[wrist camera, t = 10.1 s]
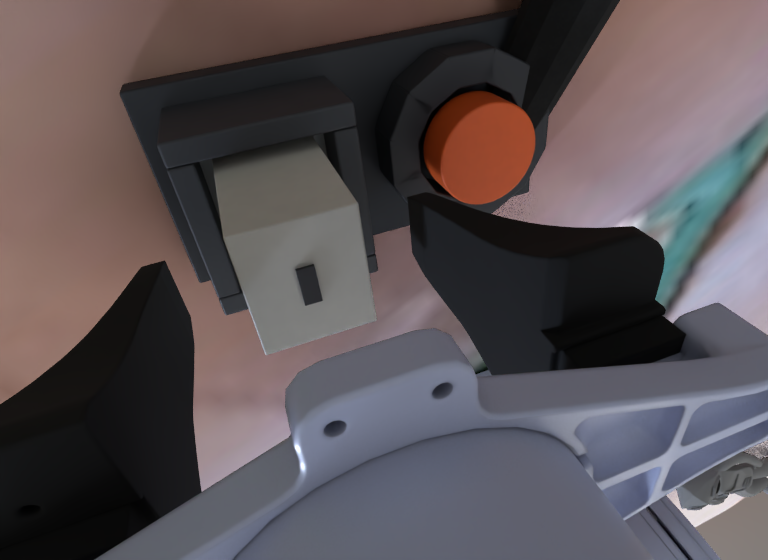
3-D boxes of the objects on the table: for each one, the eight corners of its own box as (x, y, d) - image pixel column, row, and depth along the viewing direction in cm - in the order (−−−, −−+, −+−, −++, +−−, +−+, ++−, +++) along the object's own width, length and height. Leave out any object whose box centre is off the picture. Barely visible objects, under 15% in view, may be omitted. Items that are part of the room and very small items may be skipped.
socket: (344, 215, 23) (378, 271, 19) (217, 248, 22) (225, 316, 18) (318, 67, 19) (354, 101, 15) (160, 99, 18) (155, 144, 14)
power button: (510, 175, 21) (532, 191, 20) (425, 198, 21) (443, 216, 19) (514, 80, 19) (540, 91, 18) (419, 101, 18) (438, 115, 17)
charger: (329, 229, 19) (378, 323, 15) (244, 252, 19) (266, 358, 14) (309, 130, 17) (359, 204, 12) (210, 153, 16) (223, 240, 12)
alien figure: (778, 513, 61) (673, 531, 48) (742, 480, 65) (636, 488, 51) (828, 470, 58) (730, 476, 45) (788, 438, 61) (686, 435, 48)
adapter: (516, 183, 25) (550, 208, 23) (198, 269, 22) (201, 308, 20) (526, 6, 20) (571, 15, 18) (121, 84, 17) (112, 106, 15)
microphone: (442, 222, 28) (669, -247, 17) (511, 286, 25) (842, -239, 14) (368, 227, 25) (591, -356, 14) (437, 302, 22) (797, -375, 11)
